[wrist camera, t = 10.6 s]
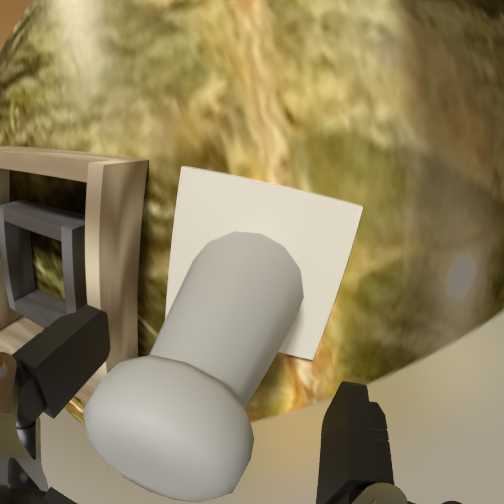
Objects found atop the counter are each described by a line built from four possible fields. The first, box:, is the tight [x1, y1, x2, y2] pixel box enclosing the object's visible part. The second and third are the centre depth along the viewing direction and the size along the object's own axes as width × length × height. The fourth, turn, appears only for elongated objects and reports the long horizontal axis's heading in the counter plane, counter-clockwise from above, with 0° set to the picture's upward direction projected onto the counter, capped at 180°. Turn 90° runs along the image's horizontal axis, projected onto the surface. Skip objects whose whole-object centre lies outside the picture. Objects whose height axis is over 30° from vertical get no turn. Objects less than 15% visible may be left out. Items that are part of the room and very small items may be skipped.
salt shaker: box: [83, 231, 304, 502], centre depth 11 cm, size 6×6×13 cm
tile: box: [165, 166, 363, 360], centre depth 18 cm, size 10×10×1 cm
